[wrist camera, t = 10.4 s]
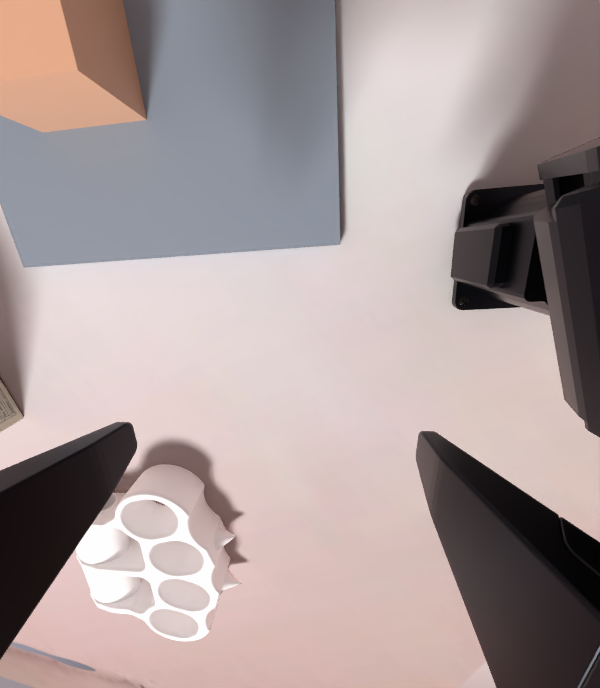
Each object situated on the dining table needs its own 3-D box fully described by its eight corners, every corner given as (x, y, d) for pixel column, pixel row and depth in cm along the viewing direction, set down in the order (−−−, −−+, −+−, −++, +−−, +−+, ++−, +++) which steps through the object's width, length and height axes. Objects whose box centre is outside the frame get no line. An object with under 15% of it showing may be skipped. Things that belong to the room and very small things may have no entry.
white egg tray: (70, 456, 25) (236, 464, 24) (115, 593, 31) (250, 604, 30) (33, 487, 21) (223, 498, 20) (91, 633, 27) (241, 647, 26)
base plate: (330, -159, 12) (334, -332, 8) (339, 244, 17) (344, 244, 14) (-86, -76, 14) (-229, -188, 10) (35, 266, 19) (-32, 271, 15)
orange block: (115, -37, 13) (16, -171, 9) (146, 119, 15) (78, 70, 11) (-2, -16, 14) (-149, -134, 9) (43, 132, 16) (-62, 89, 11)
